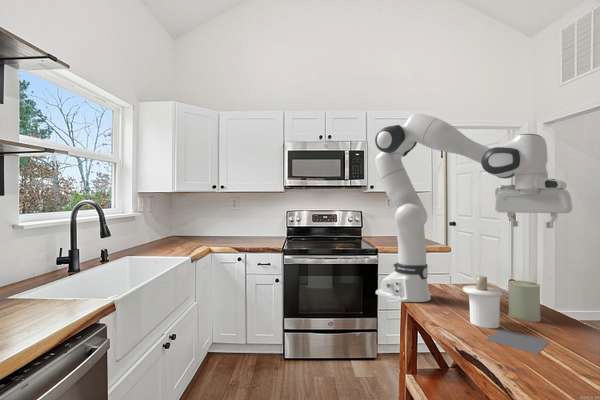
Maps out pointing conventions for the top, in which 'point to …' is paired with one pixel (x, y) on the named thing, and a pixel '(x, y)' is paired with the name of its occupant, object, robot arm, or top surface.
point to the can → (524, 300)
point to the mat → (518, 341)
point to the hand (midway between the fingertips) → (531, 227)
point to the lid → (482, 289)
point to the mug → (484, 311)
